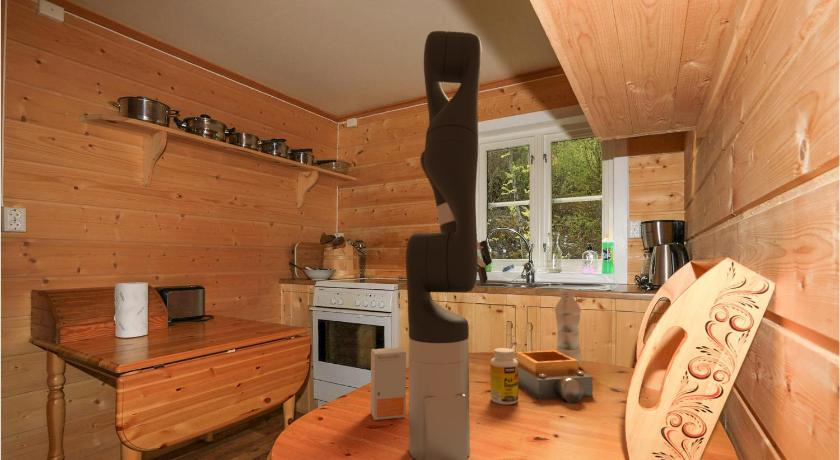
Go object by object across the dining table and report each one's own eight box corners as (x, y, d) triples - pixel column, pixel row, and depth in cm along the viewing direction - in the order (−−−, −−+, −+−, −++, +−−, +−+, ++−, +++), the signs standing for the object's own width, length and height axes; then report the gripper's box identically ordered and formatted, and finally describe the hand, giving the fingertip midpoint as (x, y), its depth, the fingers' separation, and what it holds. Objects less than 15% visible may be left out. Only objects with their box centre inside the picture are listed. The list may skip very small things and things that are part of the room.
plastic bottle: (549, 365, 115) (548, 289, 116) (569, 362, 118) (567, 288, 119) (567, 371, 109) (566, 291, 110) (587, 368, 112) (586, 290, 113)
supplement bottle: (504, 407, 84) (503, 354, 85) (485, 399, 89) (484, 349, 89) (524, 402, 87) (523, 350, 88) (504, 394, 92) (504, 345, 92)
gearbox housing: (601, 401, 88) (600, 368, 88) (545, 405, 85) (545, 371, 86) (553, 373, 107) (552, 346, 107) (507, 376, 105) (506, 349, 105)
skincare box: (373, 421, 78) (373, 353, 78) (370, 413, 82) (370, 348, 82) (406, 417, 79) (406, 351, 80) (401, 409, 83) (401, 346, 84)
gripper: (430, 222, 103) (444, 289, 100) (485, 214, 107) (500, 279, 103) (423, 229, 110) (435, 293, 107) (475, 222, 114) (488, 283, 110)
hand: (467, 286), depth 105 cm, fingers open, 8 cm apart
